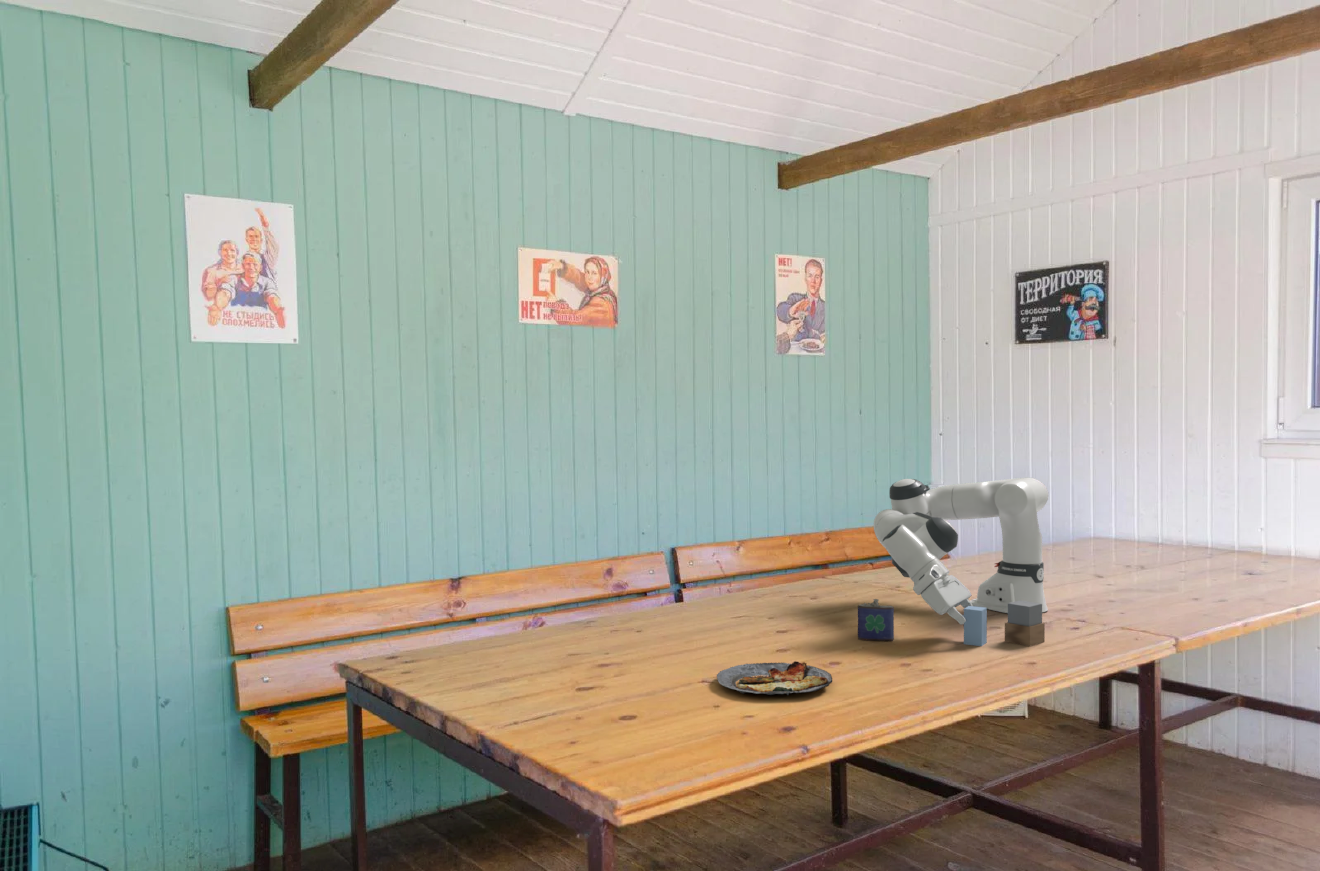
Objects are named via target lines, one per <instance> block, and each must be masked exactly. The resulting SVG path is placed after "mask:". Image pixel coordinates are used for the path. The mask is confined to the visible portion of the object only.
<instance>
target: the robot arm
mask: <svg viewBox="0 0 1320 871" xmlns="http://www.w3.org/2000/svg"><path fill="white" fill-rule="evenodd" d="M889 499H890V503H891V508H887V509H883V510H880V512H878V513H877V514H875V515H876V516H875V517H874V520H873V532H874V534H875V537H876V540H878V542H879V544H881V546H882V547H883V548H885V550H886V551H887V553H888V554H889V555H890V557H891V564H892V565H893V566H894V567H895V568H896V570H897V571H899V573H900V574H901V575H902V576H903V577H904V578H910V580H911V581H912V582H913V587H912V590H913V592H914V593H915V594H916V595H918V596H920V597H921V598H922V600H923V601H925V603H927V605H928V606H929V607H930V608H931V609H932V610H933V611H934V612H935V613H937V614H938V615H941V616H943V615H944V614H946V613H947V614H948V615H949V617H951V618H952V619H954V620H955V621H956V622H958V624H959V625H964V623H965V622H966V621H967V618H965V616H964V614H961V612H959V611H958V609H957V608H956V607H958V606H960V605H961V607H962V608H963V609H964V608H966V607H968V606H975V607H985V608H987V610H990V611H994V612H995V611H996V612H1000V613H1003V614H1008V603H1011V602H1016V601H1020V600H1021V601H1028V602H1034V603H1040V604H1042V613H1045V612H1048V611H1049V609H1048V605H1047V601H1046V597H1045V591H1044V580H1045V579H1044V577H1045V576H1044V575H1045V574H1044V572H1045V570H1044V569H1045V566H1044V562H1043V536H1042V533H1041V529H1040V526H1039V521H1038V512H1040V511H1041V510H1042V509H1044V507H1045V506H1046V505H1047V503H1048V500H1049V491H1048V488H1047V486H1046V485H1045V484H1044V483H1043V482H1042V481H1040V480H1038V479H1037V478H1033V477H1018V478H1017V477H1015V478H1008V479H997V480H989V481H988V480H987V481H981V482H980V481H978V482H968V483H966V482H965V483H956V484H947V485H941V486H938V487H935V488H930V486H928V485H925V484H924V483H923V482H922V481H919V480H918V479H914V478H903V479H900V480H898V481H895V482H894V483H892V484H891V486H889ZM998 517H999V523H1000V527H1001V537H1002V560H1000V561H998V562H996V563H994V568H997V570H996V573H994V574H993V575H991V576H990V577H988V578H987V579H985V580H984V581H983V582H981V583H980V584H979V586H978V590H977V593H976V594H977V595H976V598H973V599H970V598H971V597H972V593H971V591H970V589H969V588H968V587H966V585H964V584H963V583H962V581H960V580H959V579H958V578H957V577H956V576H955V575H953V574H950V575H949V573H950V572H951V571H950V570H949V569H948V568H947V567H946V565H945V564H943V562H942V561H941V559H942V558H943V557H944V556H946V555H947V554H948V553H950V552H952V551H953V550H954V549H955V548H957V546H958V541H959V534H958V533H957V531H956V529H955V527H954V526H953V525H952V524H951V523H950V522H949V521H958V520H960V521H962V520H975V519H976V520H977V519H988V518H989V519H990V518H998Z"/></svg>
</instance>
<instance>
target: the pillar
mask: <svg viewBox="0 0 1320 871" xmlns="http://www.w3.org/2000/svg"><path fill="white" fill-rule="evenodd" d="M987 611H988V609H987V608H985V607H977V606H968V607H966V608H963V615H964V616H965V618H967V621H966V622H965V623H964V624H963V645H969V646H976V647H977V646H978V647H984V645H986V644H987V640H988V636H987V635H988V634H987V633H988V627H987V626H988V624H987V622H988V621H987V616H988V612H987Z"/></svg>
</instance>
